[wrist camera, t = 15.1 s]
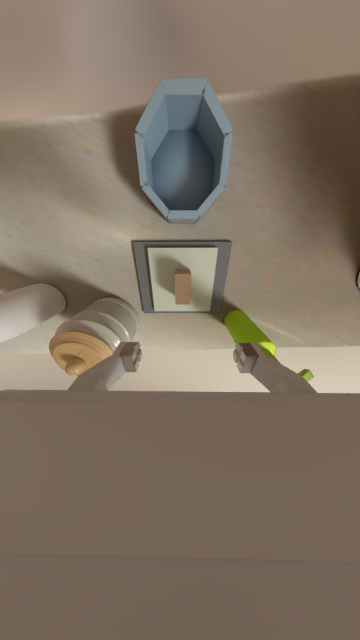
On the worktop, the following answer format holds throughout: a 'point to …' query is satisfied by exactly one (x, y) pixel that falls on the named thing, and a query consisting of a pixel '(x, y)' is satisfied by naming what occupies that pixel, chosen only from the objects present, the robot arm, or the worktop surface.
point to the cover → (182, 278)
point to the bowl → (183, 149)
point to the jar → (93, 334)
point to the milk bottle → (28, 308)
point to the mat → (142, 247)
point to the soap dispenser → (253, 336)
